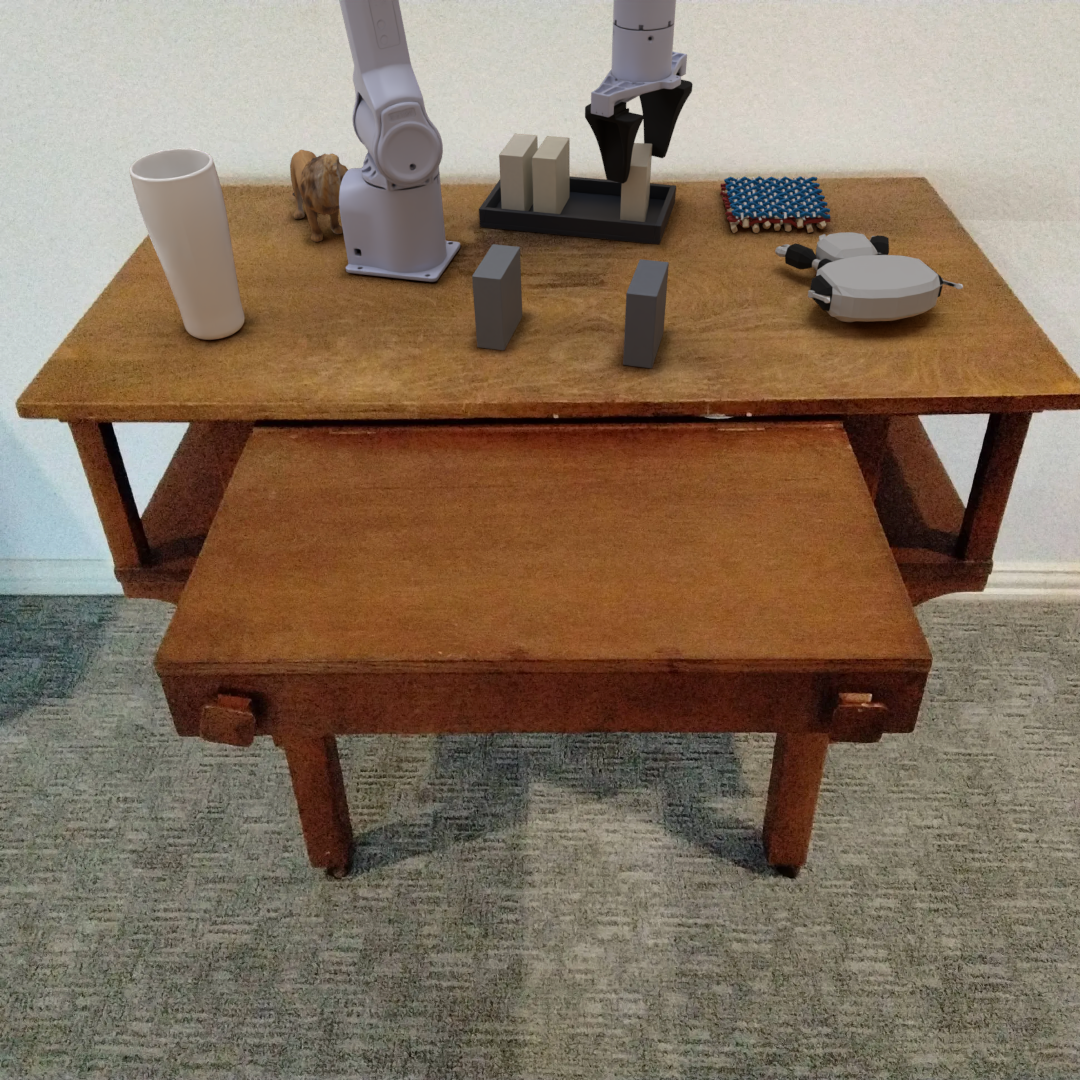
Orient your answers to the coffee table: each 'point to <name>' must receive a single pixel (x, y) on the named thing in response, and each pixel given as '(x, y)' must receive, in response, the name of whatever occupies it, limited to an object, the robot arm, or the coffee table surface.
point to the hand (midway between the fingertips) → (636, 167)
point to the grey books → (503, 304)
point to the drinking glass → (191, 237)
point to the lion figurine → (317, 188)
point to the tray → (586, 213)
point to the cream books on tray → (535, 173)
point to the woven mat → (774, 203)
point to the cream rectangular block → (637, 184)
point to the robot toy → (865, 278)
